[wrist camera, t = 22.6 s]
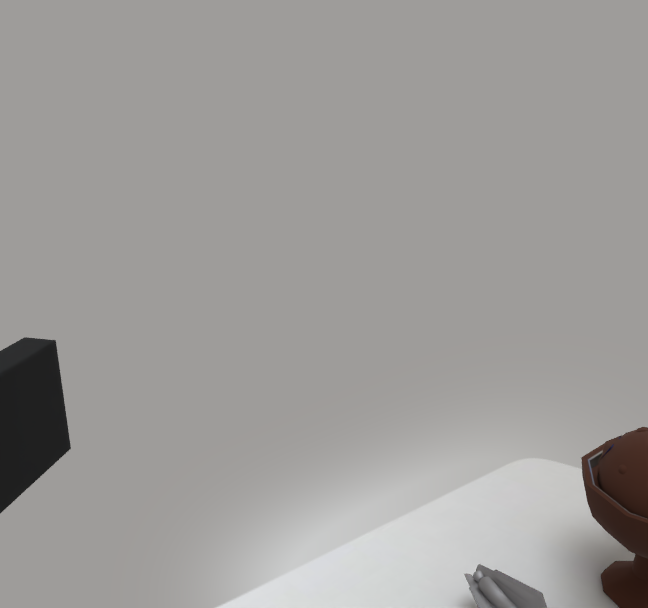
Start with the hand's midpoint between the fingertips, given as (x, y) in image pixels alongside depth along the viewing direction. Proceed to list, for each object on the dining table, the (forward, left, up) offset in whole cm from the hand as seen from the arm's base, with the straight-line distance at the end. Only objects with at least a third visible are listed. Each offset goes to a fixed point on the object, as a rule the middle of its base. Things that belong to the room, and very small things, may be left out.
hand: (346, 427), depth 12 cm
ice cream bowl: (+25, +23, -28) cm, 44 cm away
